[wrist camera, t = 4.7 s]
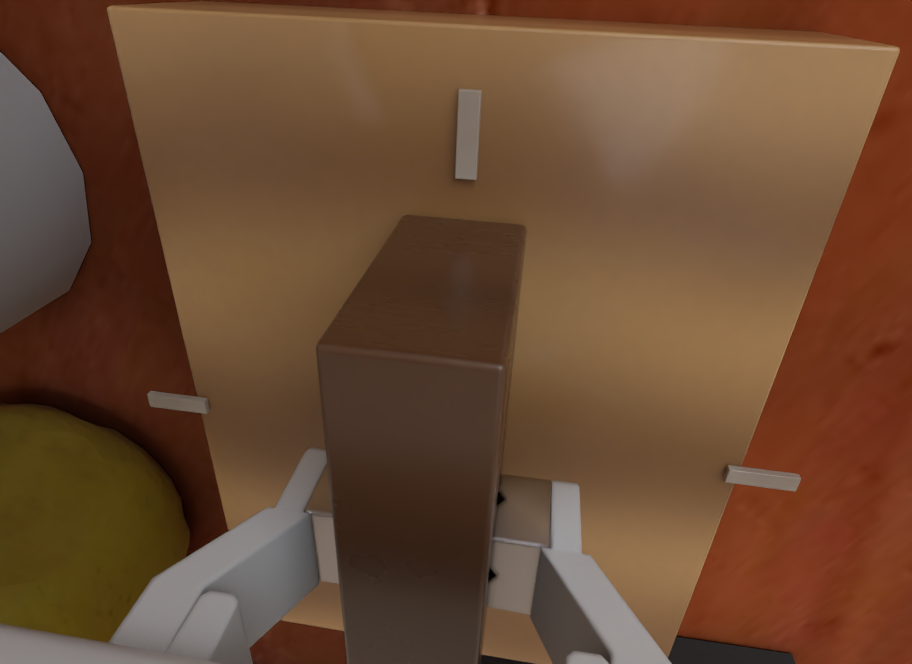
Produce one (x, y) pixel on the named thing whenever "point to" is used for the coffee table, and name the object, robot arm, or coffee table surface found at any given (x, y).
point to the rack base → (513, 202)
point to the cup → (36, 202)
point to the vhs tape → (699, 654)
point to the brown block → (420, 436)
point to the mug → (79, 523)
